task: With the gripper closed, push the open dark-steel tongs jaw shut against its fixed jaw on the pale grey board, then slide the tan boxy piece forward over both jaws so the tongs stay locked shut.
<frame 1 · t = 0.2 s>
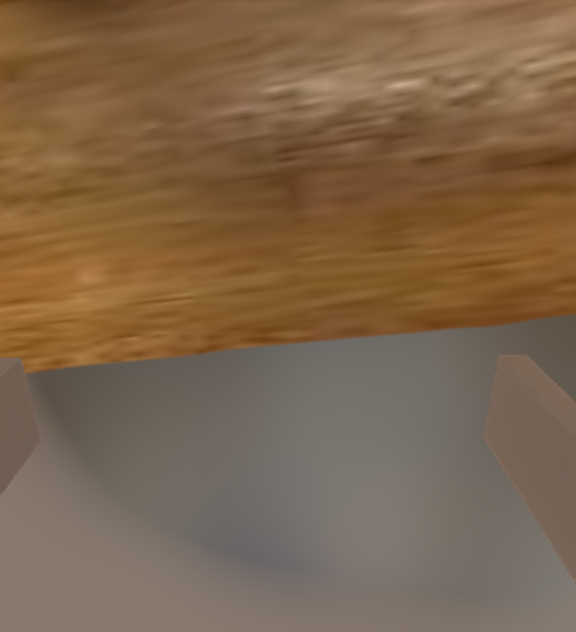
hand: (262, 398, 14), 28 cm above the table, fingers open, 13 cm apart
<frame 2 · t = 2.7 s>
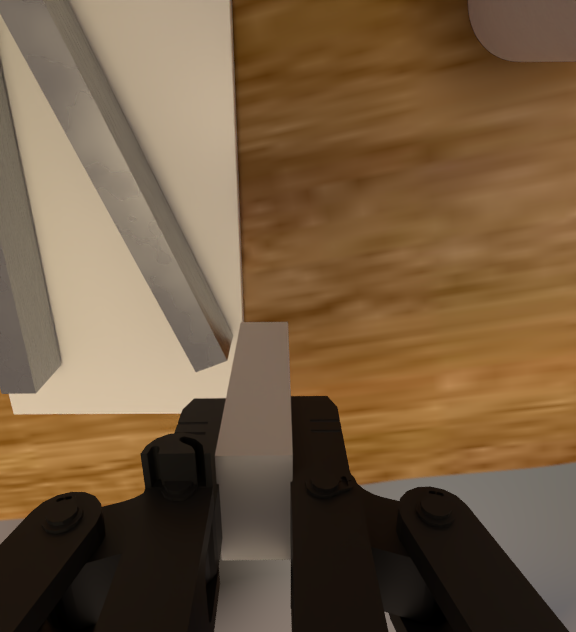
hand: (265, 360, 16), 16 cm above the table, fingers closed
tongs jaw: (116, 161, 25), point 3 cm above the table, hinge at 22.0°
board: (99, 153, 28), on the table
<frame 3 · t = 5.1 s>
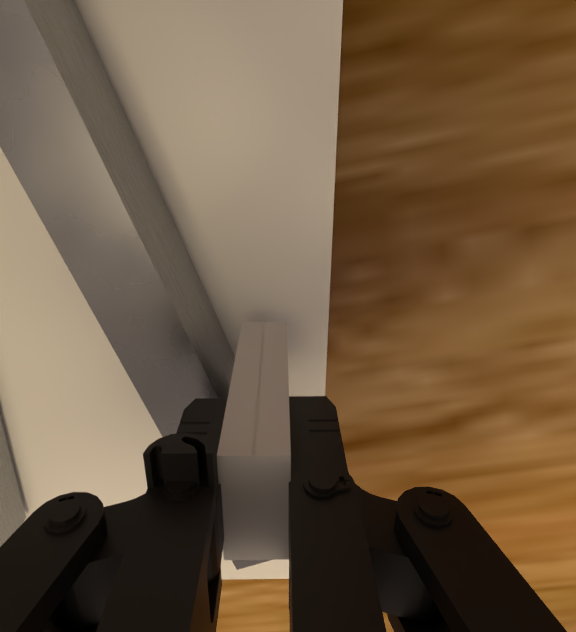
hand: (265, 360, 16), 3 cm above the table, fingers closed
tongs jaw: (109, 207, 13), point 3 cm above the table, hinge at 20.3°
board: (89, 181, 16), on the table
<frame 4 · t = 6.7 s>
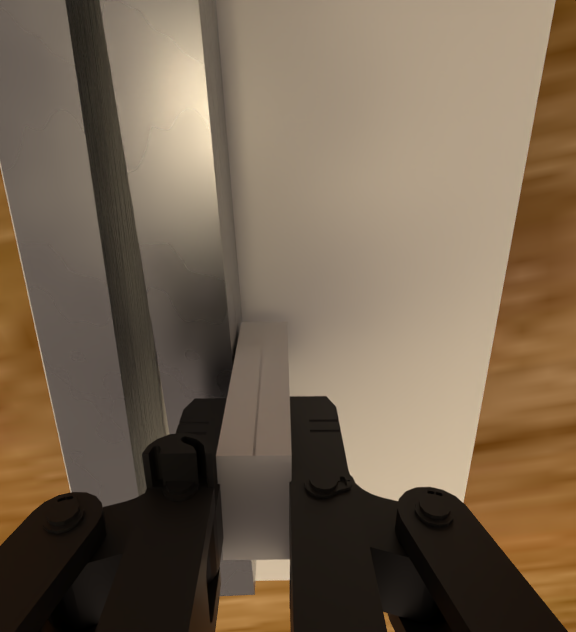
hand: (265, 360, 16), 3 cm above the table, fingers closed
tongs jaw: (192, 236, 13), point 3 cm above the table, hinge at 2.5°, touching gripper
board: (266, 184, 16), on the table
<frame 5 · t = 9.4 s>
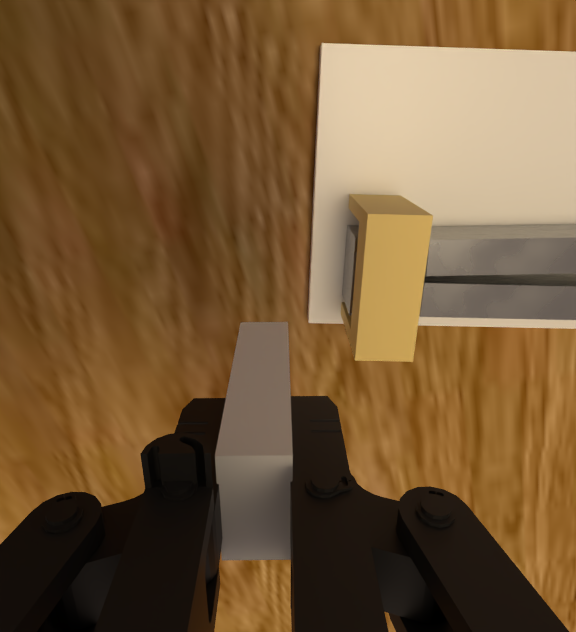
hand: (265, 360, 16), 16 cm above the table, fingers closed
tan boxy piece: (379, 272, 27), point 5 cm above the table, slide at 0.0 cm
tongs fixed: (405, 237, 31), resting on board
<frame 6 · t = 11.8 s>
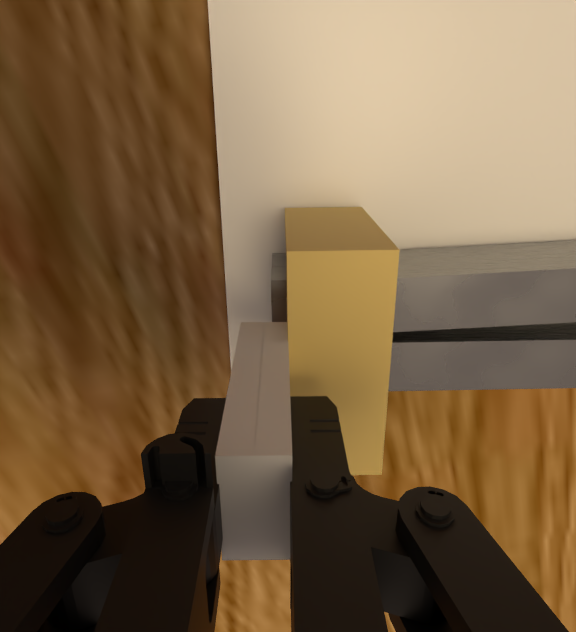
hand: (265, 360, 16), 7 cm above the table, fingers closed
tan boxy piece: (328, 329, 17), point 5 cm above the table, slide at 0.5 cm, touching gripper
tongs fixed: (364, 264, 21), resting on board
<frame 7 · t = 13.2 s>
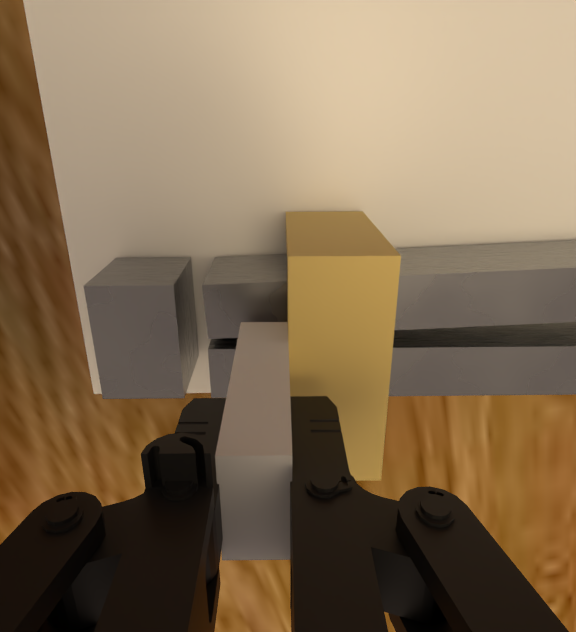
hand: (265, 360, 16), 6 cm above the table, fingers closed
tongs jaw: (530, 280, 18), point 3 cm above the table, hinge at 2.4°
tan boxy piece: (329, 333, 17), point 5 cm above the table, slide at 6.8 cm, touching gripper
tongs fixed: (221, 269, 21), resting on board
board: (479, 211, 20), on the table
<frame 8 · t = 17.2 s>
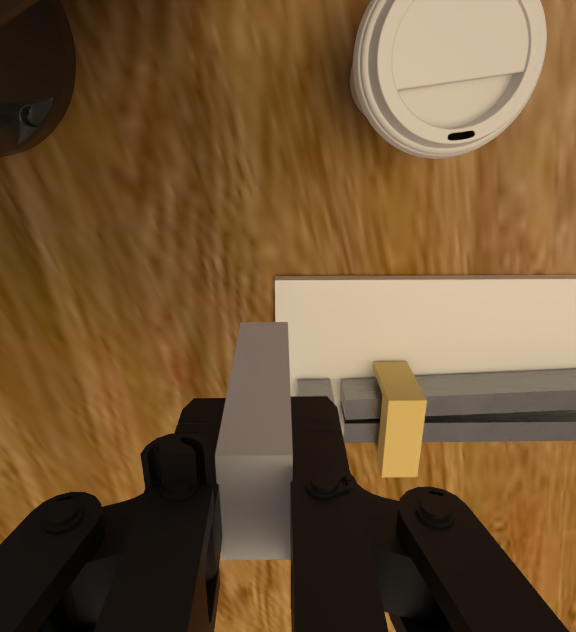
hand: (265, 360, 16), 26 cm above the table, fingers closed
tongs jaw: (477, 393, 43), point 3 cm above the table, hinge at 2.4°
tan boxy piece: (394, 417, 42), point 5 cm above the table, slide at 6.9 cm
coffee cup: (392, 78, 37), on the table
tongs fixed: (338, 380, 46), resting on board
board: (456, 356, 46), on the table
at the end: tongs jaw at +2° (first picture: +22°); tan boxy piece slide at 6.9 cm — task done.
